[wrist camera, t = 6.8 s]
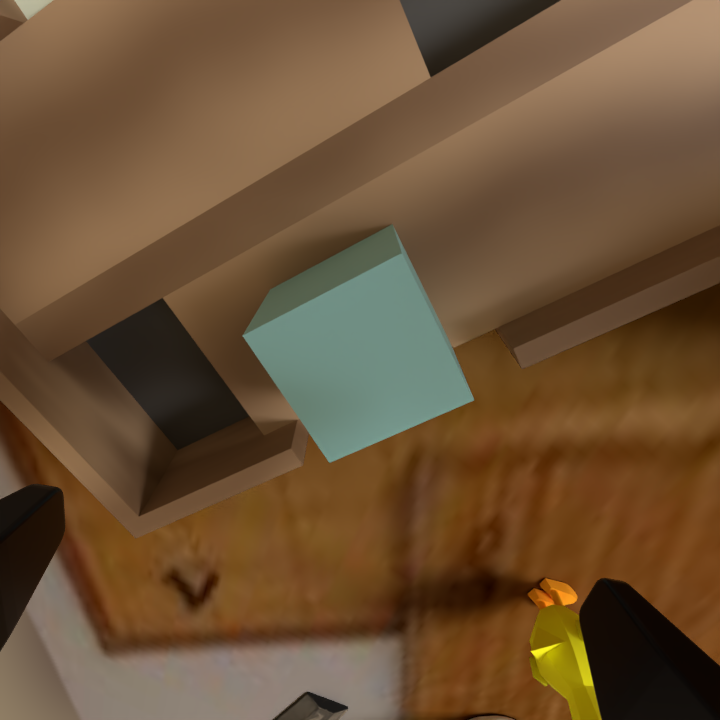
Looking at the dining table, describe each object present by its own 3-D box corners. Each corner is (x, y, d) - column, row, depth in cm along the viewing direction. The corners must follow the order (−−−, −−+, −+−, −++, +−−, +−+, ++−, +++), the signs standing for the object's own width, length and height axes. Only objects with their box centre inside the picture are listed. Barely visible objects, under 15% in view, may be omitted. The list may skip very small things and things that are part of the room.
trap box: (744, 201, 17) (858, 222, 13) (175, 467, 22) (135, 538, 18) (632, -424, 11) (779, -731, 7) (-107, 137, 16) (-257, 138, 12)
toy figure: (622, 598, 26) (814, 940, 15) (576, 634, 27) (720, 974, 16) (526, 548, 24) (660, 889, 13) (482, 590, 25) (570, 930, 15)
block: (449, 341, 16) (474, 399, 13) (336, 394, 17) (329, 462, 14) (392, 223, 15) (401, 253, 11) (270, 289, 16) (242, 335, 12)
